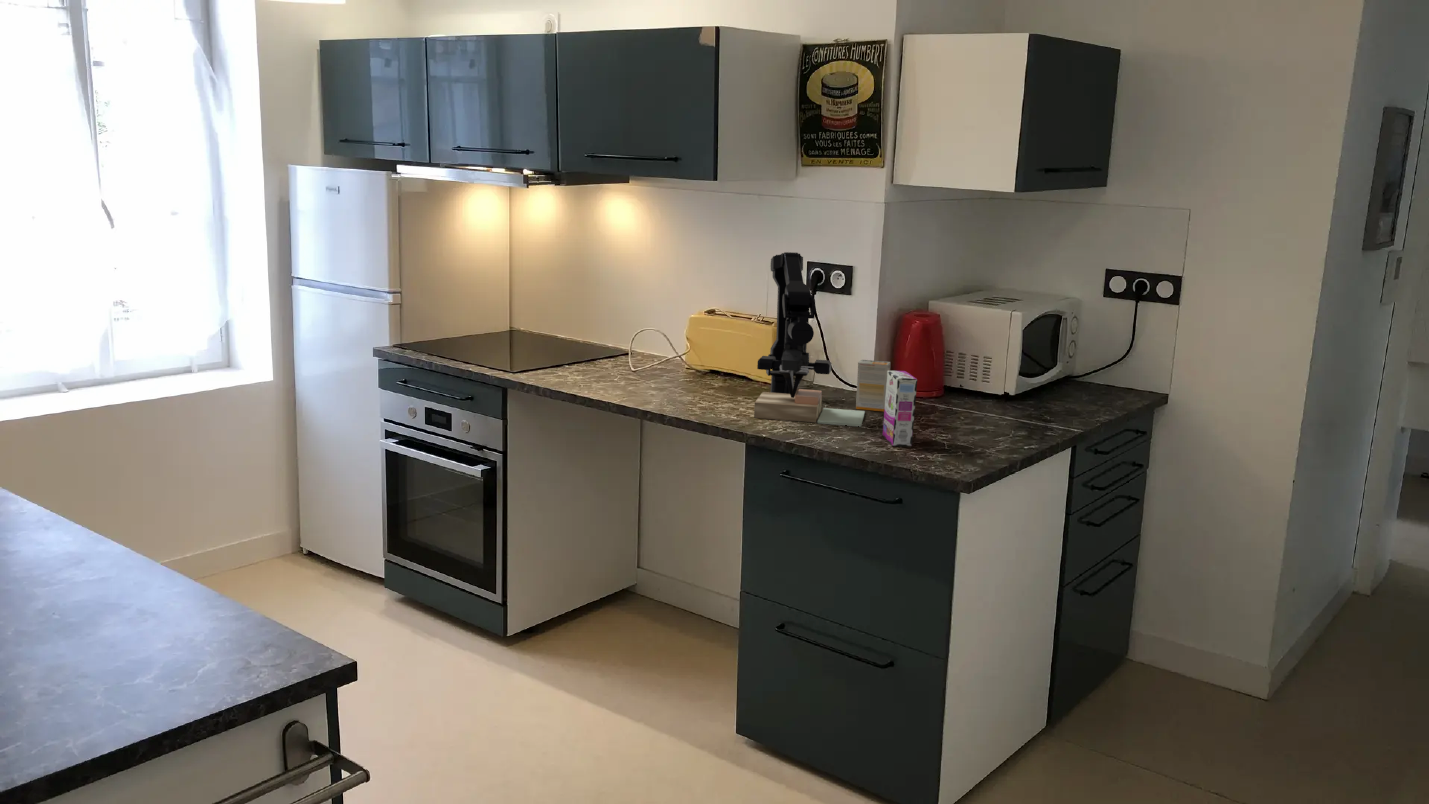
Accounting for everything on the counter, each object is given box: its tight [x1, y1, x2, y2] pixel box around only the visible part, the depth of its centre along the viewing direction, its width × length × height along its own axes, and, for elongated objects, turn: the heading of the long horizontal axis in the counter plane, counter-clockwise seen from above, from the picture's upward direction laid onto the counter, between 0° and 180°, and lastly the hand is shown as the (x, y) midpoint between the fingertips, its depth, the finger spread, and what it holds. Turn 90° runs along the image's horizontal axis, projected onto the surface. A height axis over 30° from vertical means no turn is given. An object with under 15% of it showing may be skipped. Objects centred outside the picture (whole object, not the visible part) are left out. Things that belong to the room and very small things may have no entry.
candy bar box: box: [882, 370, 918, 447], centre depth 266 cm, size 11×5×16 cm, turn 5°
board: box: [753, 391, 823, 423], centre depth 292 cm, size 14×16×4 cm
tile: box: [795, 388, 823, 405], centre depth 290 cm, size 9×6×2 cm, turn 169°
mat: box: [817, 407, 866, 428], centre depth 290 cm, size 16×11×1 cm
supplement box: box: [855, 359, 891, 413], centre depth 300 cm, size 8×5×13 cm, turn 71°
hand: (792, 397), depth 291 cm, fingers closed
